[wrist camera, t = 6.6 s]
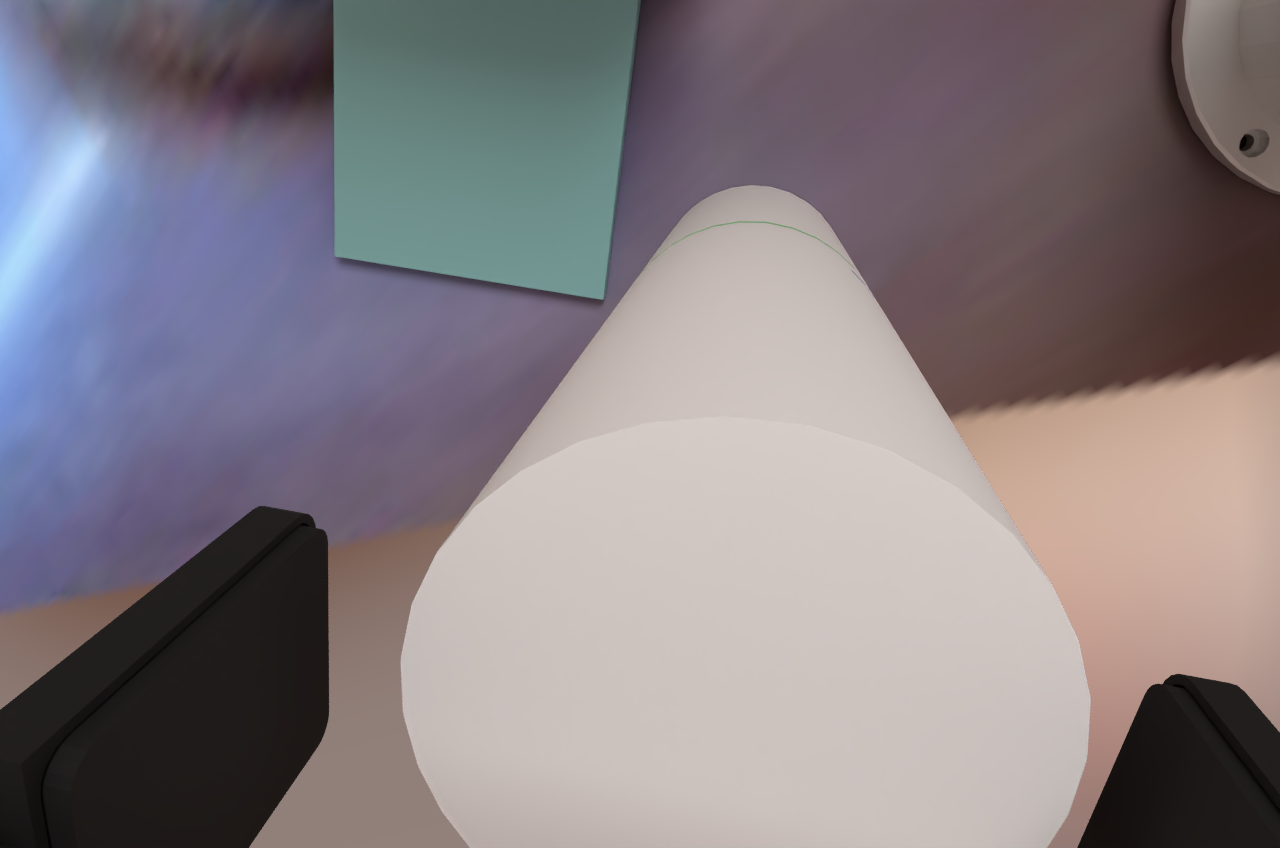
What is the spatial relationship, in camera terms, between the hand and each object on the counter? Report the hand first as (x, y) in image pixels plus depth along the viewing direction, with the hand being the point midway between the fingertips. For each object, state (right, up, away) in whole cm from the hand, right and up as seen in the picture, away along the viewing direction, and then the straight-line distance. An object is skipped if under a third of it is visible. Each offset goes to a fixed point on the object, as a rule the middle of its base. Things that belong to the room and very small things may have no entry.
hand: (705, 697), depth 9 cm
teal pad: (-7, +14, +22) cm, 27 cm away
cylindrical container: (+3, +9, +23) cm, 25 cm away
